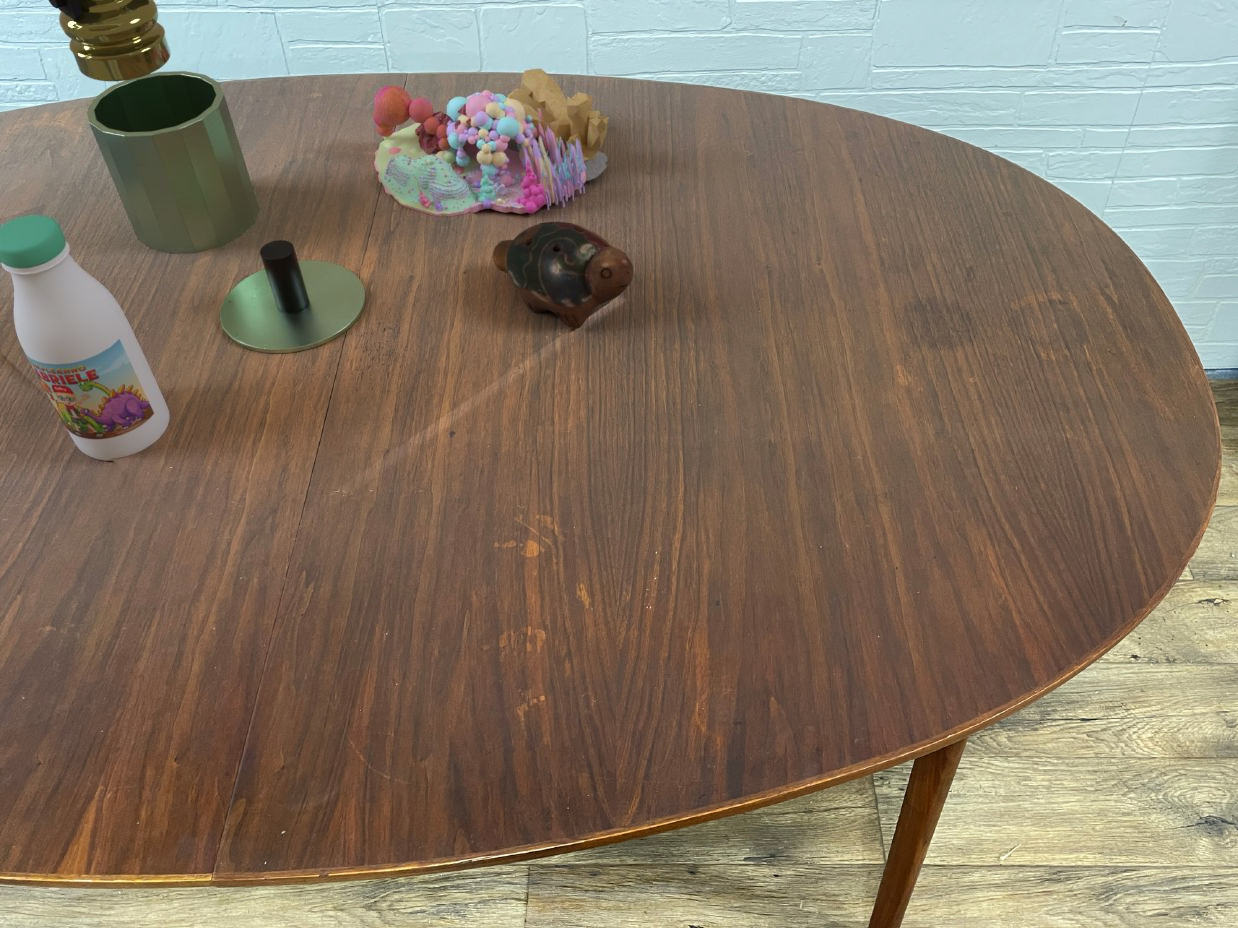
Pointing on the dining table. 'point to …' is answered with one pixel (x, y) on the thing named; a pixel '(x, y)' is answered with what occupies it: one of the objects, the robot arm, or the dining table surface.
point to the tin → (175, 160)
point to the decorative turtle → (563, 269)
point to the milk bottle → (80, 344)
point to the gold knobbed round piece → (117, 39)
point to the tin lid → (292, 303)
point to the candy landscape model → (489, 148)
